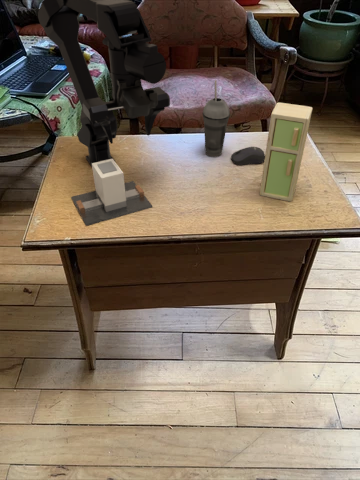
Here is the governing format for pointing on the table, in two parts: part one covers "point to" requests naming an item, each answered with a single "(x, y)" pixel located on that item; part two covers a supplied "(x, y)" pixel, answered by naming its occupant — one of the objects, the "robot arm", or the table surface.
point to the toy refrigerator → (284, 150)
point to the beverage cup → (215, 124)
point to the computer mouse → (248, 156)
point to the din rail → (96, 213)
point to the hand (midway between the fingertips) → (129, 138)
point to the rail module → (109, 184)
